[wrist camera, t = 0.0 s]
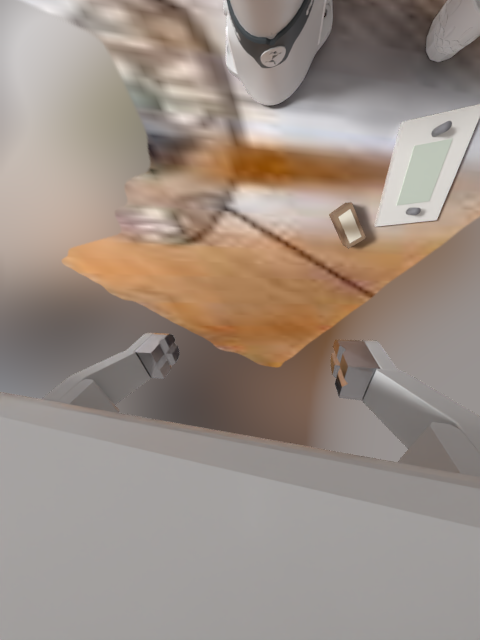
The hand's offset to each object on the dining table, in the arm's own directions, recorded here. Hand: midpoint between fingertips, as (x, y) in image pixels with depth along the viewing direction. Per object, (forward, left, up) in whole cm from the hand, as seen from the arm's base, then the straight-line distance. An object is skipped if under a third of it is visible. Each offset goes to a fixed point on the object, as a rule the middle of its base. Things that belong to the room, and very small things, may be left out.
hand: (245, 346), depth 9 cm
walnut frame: (0, +17, -49) cm, 52 cm away
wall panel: (-8, +30, -49) cm, 58 cm away
